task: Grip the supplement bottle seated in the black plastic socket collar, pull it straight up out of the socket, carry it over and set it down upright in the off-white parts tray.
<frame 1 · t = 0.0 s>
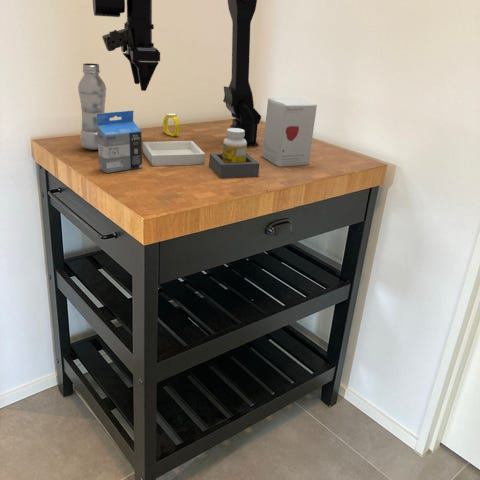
hand: (140, 87, 128), 15 cm above the worktop, fingers open, 9 cm apart
plastic bottle: (94, 149, 129), on the worktop
socket collar: (233, 170, 121), on the worktop
label tape box: (120, 169, 117), on the worktop
supplement bottle: (233, 171, 121), resting in socket collar
watch: (171, 135, 147), on the worktop
supplement box: (285, 161, 132), on the worktop
parts tray: (173, 157, 127), on the worktop
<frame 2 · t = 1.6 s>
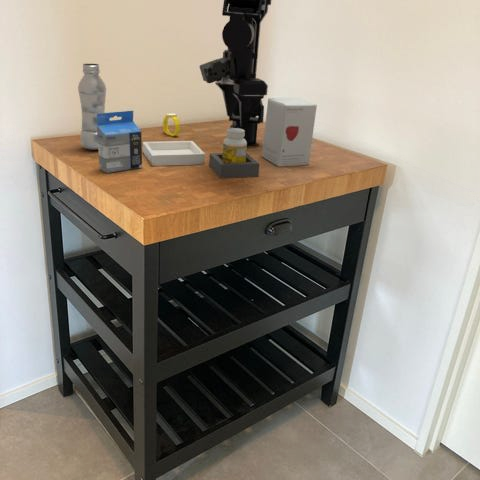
hand: (236, 120, 116), 12 cm above the worktop, fingers open, 9 cm apart
nothing on the worktop moved.
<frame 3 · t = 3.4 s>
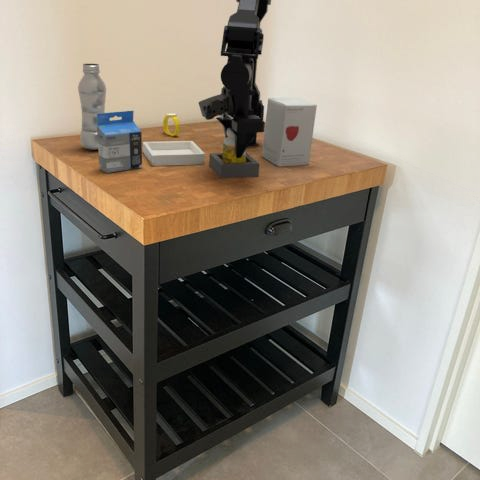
hand: (234, 153, 119), 4 cm above the worktop, fingers closed on supplement bottle, 5 cm apart
supplement bottle: (233, 171, 121), resting in socket collar, touching gripper
everything else where it was.
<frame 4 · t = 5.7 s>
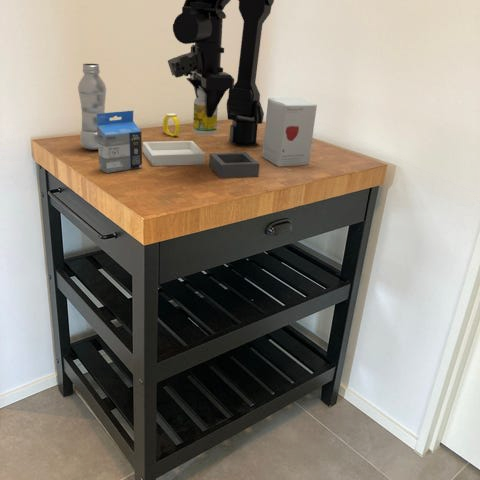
hand: (205, 114, 119), 12 cm above the worktop, fingers closed on supplement bottle, 5 cm apart
supplement bottle: (204, 132, 121), point 8 cm above the worktop, touching gripper
everything else where it was.
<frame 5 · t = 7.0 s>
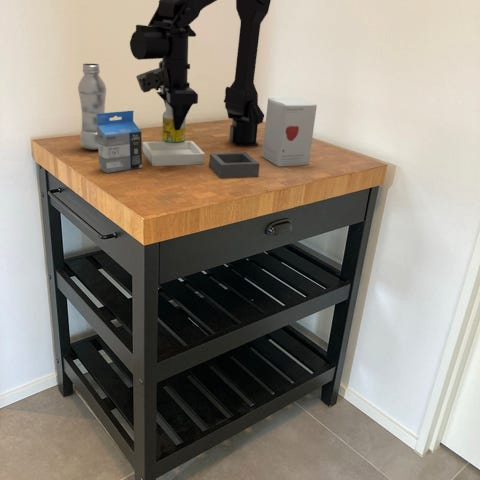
hand: (174, 126, 124), 8 cm above the worktop, fingers closed on supplement bottle, 5 cm apart
supplement bottle: (173, 144, 126), point 3 cm above the worktop, touching gripper
everything else where it was.
when the fingers open (6 cm above the worktop, at t = 8.0 s): supplement bottle drops 2 cm, resting on parts tray.
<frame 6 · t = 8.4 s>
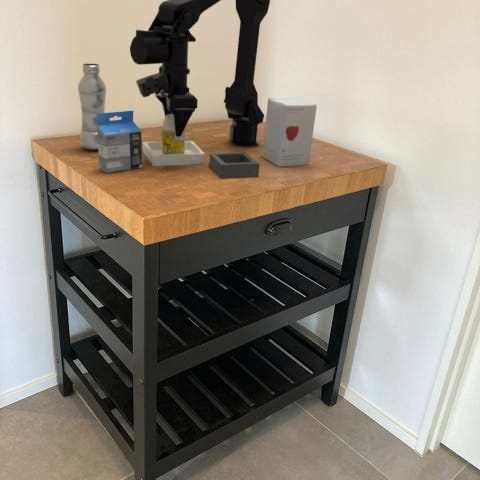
hand: (173, 131, 124), 6 cm above the worktop, fingers open, 9 cm apart
supplement bottle: (173, 156, 127), resting on parts tray
everything else where it was.
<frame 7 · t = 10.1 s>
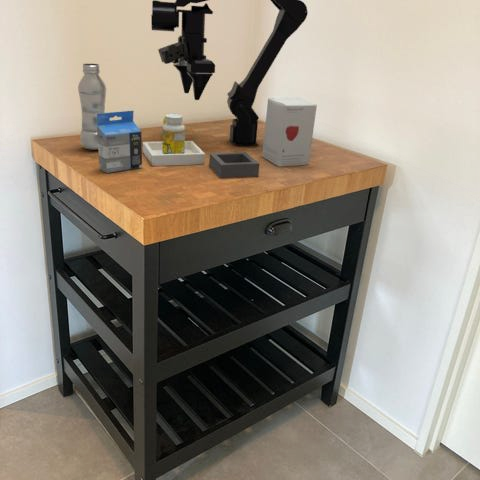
hand: (191, 96, 137), 12 cm above the worktop, fingers open, 9 cm apart
nothing on the worktop moved.
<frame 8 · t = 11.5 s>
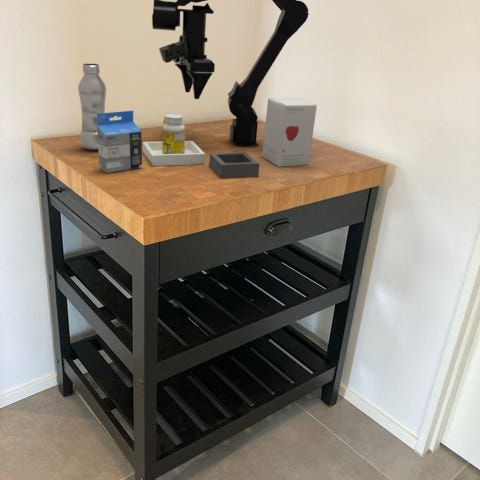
hand: (191, 95, 138), 12 cm above the worktop, fingers open, 9 cm apart
nothing on the worktop moved.
at the end: supplement bottle inside the target area on the parts tray (0.1 cm from its centre), point 0.4 cm above the parts tray's base; supplement bottle tilted 0°; the gripper is holding nothing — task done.
